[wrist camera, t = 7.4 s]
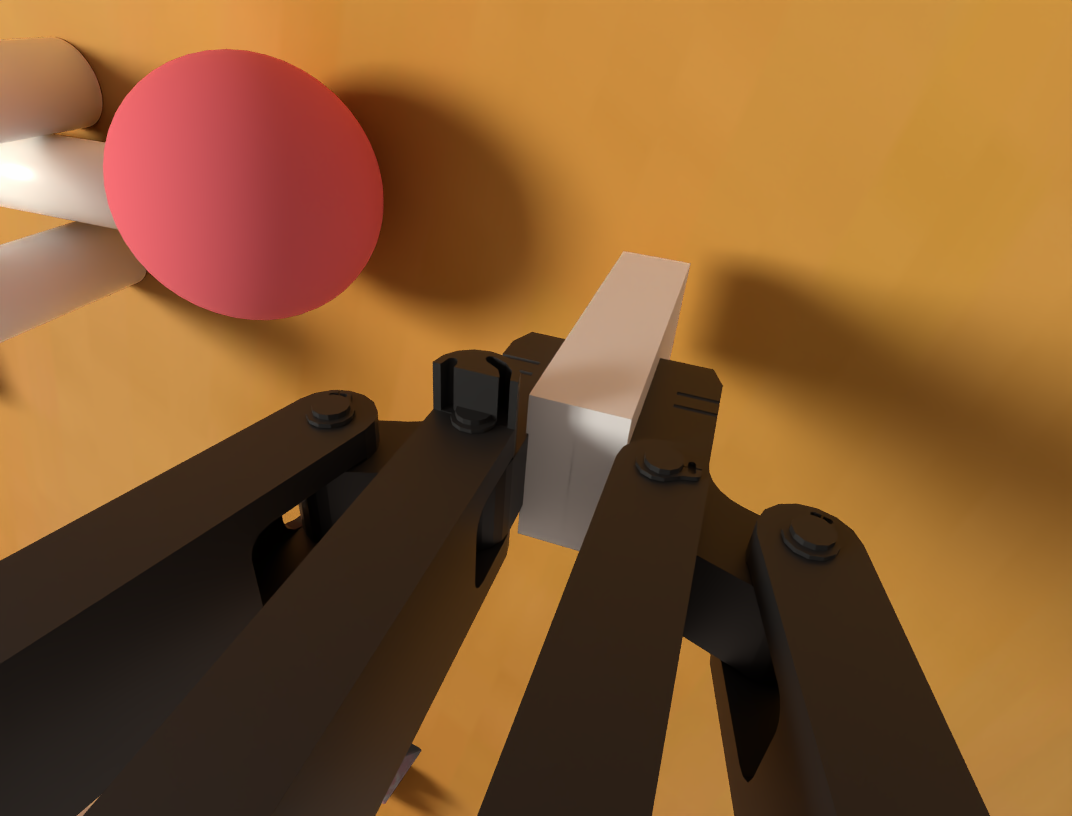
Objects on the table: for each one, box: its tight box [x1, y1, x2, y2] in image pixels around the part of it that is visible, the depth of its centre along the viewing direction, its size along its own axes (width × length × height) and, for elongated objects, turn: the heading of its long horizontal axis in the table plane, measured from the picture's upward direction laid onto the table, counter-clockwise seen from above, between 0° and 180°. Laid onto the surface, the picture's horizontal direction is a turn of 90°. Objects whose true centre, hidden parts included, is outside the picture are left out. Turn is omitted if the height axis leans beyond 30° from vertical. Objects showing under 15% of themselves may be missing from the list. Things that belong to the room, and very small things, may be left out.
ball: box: [103, 49, 384, 320], centre depth 15 cm, size 6×6×6 cm
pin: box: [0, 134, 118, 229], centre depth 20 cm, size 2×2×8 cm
